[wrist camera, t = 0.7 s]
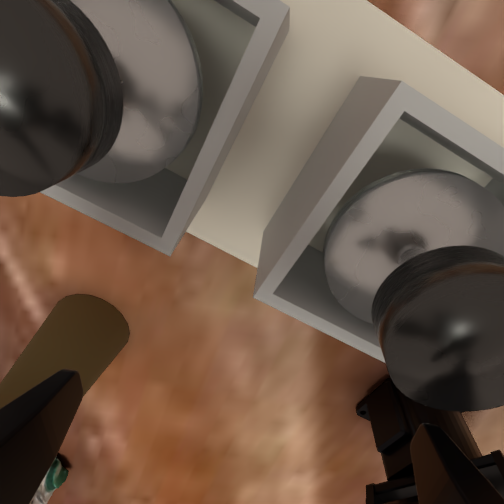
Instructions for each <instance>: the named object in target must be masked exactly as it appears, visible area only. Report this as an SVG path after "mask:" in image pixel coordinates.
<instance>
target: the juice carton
mask: <svg viewBox="0 0 504 504" xmlns="http://www.w3.org/2000/svg"><path fill="white" fill-rule="evenodd" d="M68 472H69V471H68V470H67V469H65V468H63V467H62V465H61V462H60V461H59V460H58V458H57V456H56V457H55V459H54V461H53V463H52V465H51V467H50V469H49V470H48V472H47V474H46V476H45V477H44V479H43V481H42V483H41V484H40V486H39V488H38V490H37V491H36V493H35V495H34V497H33V498H32V500H31V502H30V504H47V502H48V500H49V499H50V497H51V495H52V493H53V492H54V490H55V489H56V488H59V486H61V485H62V483H63V482H65V480H66V478H67V476H68Z"/></svg>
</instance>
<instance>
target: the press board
mask: <svg viewBox="0 0 504 504" xmlns="http://www.w3.org/2000/svg"><path fill="white" fill-rule="evenodd" d="M171 1H172V2H173V3H174V5H175V6H176V8H177V9H178V11H179V12H180V14H181V15H182V17H183V19H184V21H185V22H186V24H187V26H188V28H189V30H190V32H191V35H192V37H193V40H194V42H195V45H196V48H197V51H198V55H199V59H200V63H201V69H202V76H203V102H202V109H201V114H200V119H199V122H198V125H197V128H196V130H195V133H194V135H193V137H192V139H191V140H190V142H189V144H188V145H187V147H186V148H185V149H184V151H183V152H182V153H181V154H180V155H179V156H178V157H177V158H176V159H175V160H174V161H173V162H171V163H170V164H169V165H168V166H166V167H165V168H164V169H163V170H161V171H160V172H158V173H156V174H154V175H153V176H151V177H148V178H146V179H143V180H140V181H135V182H131V183H106V182H101V181H95V180H92V179H89V178H86V177H83V176H81V175H79V174H75V175H73V176H71V177H69V178H67V179H65V180H63V181H61V182H59V183H57V184H55V185H53V186H51V187H49V188H47V189H45V190H43V191H41V193H43V194H45V195H47V196H49V197H51V198H53V199H55V200H57V201H59V202H61V203H63V204H65V205H67V206H69V207H71V208H73V209H75V210H77V211H79V212H81V213H83V214H85V215H87V216H89V217H91V218H93V219H95V220H97V221H99V222H102V223H104V224H106V225H108V226H110V227H112V228H114V229H116V230H118V231H120V232H122V233H124V234H126V235H128V236H130V237H132V238H134V239H136V240H138V241H140V242H142V243H144V244H146V245H148V246H150V247H152V248H154V249H156V250H158V251H160V252H162V253H164V254H166V255H168V256H171V254H172V253H173V251H174V249H175V248H176V246H177V245H178V243H179V241H180V240H181V238H182V237H183V235H184V234H185V232H188V233H190V234H192V235H194V236H196V237H198V238H200V239H201V240H203V241H205V242H207V243H209V244H211V245H213V246H215V247H217V248H219V249H221V250H223V251H225V252H227V253H229V254H231V255H233V256H235V257H237V258H239V259H241V260H243V261H245V262H246V263H248V264H250V265H252V266H254V267H256V268H258V269H257V275H256V282H255V288H254V295H253V298H255V299H257V300H259V301H261V302H263V303H265V304H267V305H269V306H271V307H273V308H275V309H277V310H279V311H281V312H283V313H285V314H287V315H289V316H291V317H293V318H295V319H297V320H300V321H302V322H304V323H306V324H308V325H310V326H312V327H314V328H316V329H318V330H320V331H322V332H324V333H326V334H328V335H330V336H332V337H334V338H336V339H338V340H340V341H342V342H344V343H346V344H348V345H350V346H352V347H354V348H356V349H358V350H360V351H362V352H364V353H366V354H368V355H370V356H372V357H374V358H376V359H378V360H380V361H382V362H384V363H385V359H384V356H383V353H382V350H381V347H380V344H379V341H378V338H377V335H376V332H375V329H374V326H373V324H371V323H368V322H366V321H363V320H361V319H359V318H357V317H356V316H354V315H352V314H351V313H350V312H348V311H347V310H346V309H345V308H344V307H343V306H342V305H341V304H340V303H339V302H338V301H337V299H336V298H335V297H334V295H333V293H332V292H331V290H330V288H329V285H328V282H327V279H326V273H325V268H324V261H323V248H324V242H325V238H326V234H327V231H328V229H329V227H330V225H331V222H332V221H333V219H334V217H335V216H336V214H337V213H338V211H339V210H340V209H341V208H342V207H343V205H344V204H345V203H346V202H347V201H348V200H349V199H350V198H351V197H352V196H353V195H354V194H356V193H357V192H358V191H360V190H361V189H362V188H364V187H365V186H367V185H369V184H371V183H372V182H374V181H376V180H378V179H380V178H383V177H385V176H387V175H390V174H394V173H397V172H400V171H405V170H411V169H421V168H432V169H442V170H447V171H452V172H455V173H458V174H461V175H463V176H465V177H467V178H469V179H471V180H473V181H474V182H476V183H478V184H479V185H481V186H482V187H484V188H485V189H487V190H488V191H489V192H491V193H492V194H493V195H494V196H495V197H496V198H497V199H498V200H499V201H500V202H501V204H502V205H503V207H504V95H503V94H501V93H500V92H499V91H497V90H496V89H494V88H493V87H491V86H490V85H488V84H487V83H485V82H484V81H483V80H481V79H480V78H478V77H477V76H475V75H474V74H472V73H471V72H470V71H468V70H467V69H465V68H464V67H462V66H461V65H459V64H458V63H457V62H455V61H454V60H452V59H451V58H449V57H448V56H446V55H445V54H444V53H442V52H441V51H439V50H438V49H436V48H435V47H433V46H432V45H431V44H429V43H428V42H426V41H425V40H423V39H422V38H420V37H419V36H417V35H416V34H415V33H413V32H412V31H410V30H409V29H407V28H406V27H404V26H403V25H402V24H400V23H399V22H397V21H396V20H394V19H393V18H391V17H390V16H389V15H387V14H386V13H384V12H383V11H381V10H380V9H378V8H377V7H376V6H374V5H373V4H371V3H370V2H368V1H367V0H171Z"/></svg>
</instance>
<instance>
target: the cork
mask: <svg viewBox="0 0 504 504" xmlns="http://www.w3.org/2000/svg"><path fill="white" fill-rule="evenodd" d="M129 334H130V333H129V328H128V324H127V322H126V320H125V319H124V317H123V315H122V314H121V313H120V312H119V311H118V310H117V309H116V308H115V307H114V306H113V305H111V304H109V303H108V302H106V301H104V300H103V299H100V298H97V297H94V296H91V295H83V294H75V295H70V296H66V297H65V298H63V299H62V300H60V301H59V302H58V303H57V304H56V306H55V307H54V309H53V310H52V311H51V313H50V314H49V316H48V317H47V318H46V320H45V321H44V323H43V324H42V326H41V327H40V328H39V330H38V331H37V333H36V334H35V335H34V337H33V338H32V340H31V341H30V342H29V344H28V345H27V347H26V348H25V349H24V351H23V352H22V354H21V355H20V357H19V358H18V359H17V361H16V362H15V364H14V365H13V366H12V368H11V369H10V371H9V372H8V373H7V375H6V376H5V378H4V379H3V381H2V382H1V383H0V408H2V407H3V406H5V405H7V404H8V403H10V402H11V401H13V400H14V399H16V398H17V397H19V396H20V395H22V394H24V393H25V392H27V391H28V390H30V389H31V388H33V387H34V386H36V385H37V384H39V383H41V382H42V381H44V380H45V379H47V378H48V377H50V376H51V375H53V374H54V373H56V372H58V371H59V370H61V369H72V370H77V371H78V372H79V373H80V377H81V381H82V386H83V396H84V395H85V394H86V392H87V391H88V390H89V389H90V388H91V386H92V385H93V384H94V383H95V381H96V380H97V379H98V378H99V377H100V375H101V374H102V373H103V372H104V370H105V369H106V368H107V367H108V365H109V364H110V363H111V362H112V361H113V359H114V358H115V357H116V356H117V354H118V353H119V352H120V351H121V350H122V348H123V347H124V346H125V345H126V343H127V342H128V339H129Z"/></svg>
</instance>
